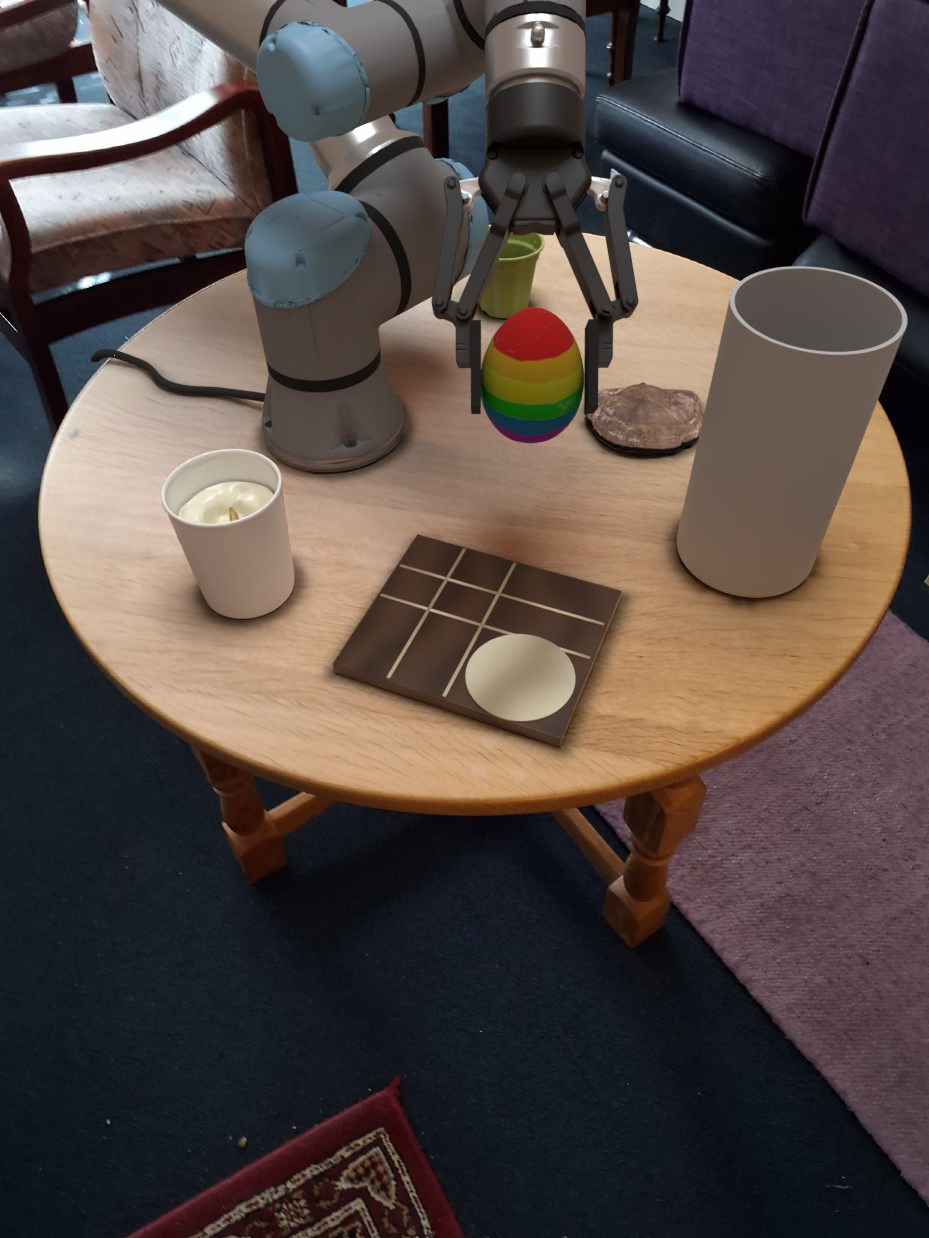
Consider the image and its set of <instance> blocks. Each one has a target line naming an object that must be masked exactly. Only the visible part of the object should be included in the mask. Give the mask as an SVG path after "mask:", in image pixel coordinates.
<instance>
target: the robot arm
mask: <svg viewBox="0 0 929 1238" xmlns="http://www.w3.org/2000/svg"><path fill="white" fill-rule="evenodd" d="M153 2H155V3H156V4H158V5H159V6H160V7H162V8H163V9H164V10H166V11H167V12H169V13H170V14H171V15H173V16H174V17H176V19H178V20H180V21H181V22H182V23H184V24H185V25H187V26H188V27H190V28H192V29H193V30H194V31H195V32H197V33H198V34H199V35H201V36H202V37H203V38H205V39H206V40H208V41H209V42H210V43H211V44H214V45H215V46H216V47H217V48H219V49H220V50H222V51H223V52H224V53H226V54H228V55H229V56H230V57H232V58H233V59H234V60H235V61H237V62H238V63H240V64H241V65H243V66H244V67H246V68H247V69H248V70H250V71H251V72H252V73H253V74H255V75H256V79H257V85H258V89H259V93H260V96H261V99H262V101H263V104H264V106H265V108H266V110H267V112H268V113H269V114H270V115H273V116H274V117H275V120H276V125H277V126H278V128H279V129H280V130H281V131H282V133H284V134H285V135H286V136H288V137H290V138H291V139H293V140H295V141H298V142H303V143H304V145H305V147H306V148H307V150H308V151H309V153H310V155H311V156H312V157H313V159H314V160H315V162H316V164H317V165H318V167H319V169H320V170H321V171H322V173H323V175H324V176H325V178H326V180H327V181H328V186H327V189H322V190H321V189H319V190H312V191H311V192H310V193H308V194H304V193H303V192H298V193H295V194H292V195H289V196H286V197H284V198H281V199H279V200H278V201H275V202H274V203H271V205H269V206H267V207H265V209H263V210H262V211H260V213H258V215H257V216H256V217H255V218H254V219H253V220H252V222H251V223H250V225H249V227H248V229H247V232H246V234H245V240H244V246H243V247H244V257H245V264H246V265H245V266H246V282H247V286H248V289H249V292H250V293H251V296H252V301H253V306H254V310H255V315H256V320H257V325H258V330H259V335H260V339H261V343H262V348H263V353H264V357H265V363H266V367H267V372H268V374H267V375H268V376H267V382H266V388H265V392H259V391H253V390H245V389H237V388H229V387H222V386H221V387H219V386H206V385H190V384H182V383H178V382H174V381H171V380H169V379H168V378H165V377H164V376H163V375H162V374H161V373H159V371H158V370H157V369H156V368H155V367H154V366H153V365H152V364H151V363H150V362H148V361H147V360H144V359H142V358H139V357H137V356H134V355H132V354H130V353H127V352H123V351H121V350H116V349H112V348H111V349H110V348H104V349H103V348H102V349H99V350H96V351H95V352H94V353H93V355H92V356H91V358H90V362H91V363H98V362H101V360H103V359H107V358H109V359H114V360H115V359H116V360H119V361H122V362H125V363H127V364H130V365H133V366H134V367H137V368H139V369H142V370H144V371H145V372H146V373H147V374H148V375H149V376H150V377H151V379H152V380H153V381H155V383H157V384H158V385H159V386H160V387H162V388H164V389H166V390H169V391H172V392H176V393H180V394H186V395H197V396H199V395H201V396H215V397H224V398H233V399H240V400H249V401H256V402H262V403H263V406H262V407H263V408H262V414H261V429H262V433H263V439H264V442H265V445H266V447H267V449H268V450H269V452H270V453H271V454H272V455H273V456H274V457H275V458H276V459H277V460H279V461H280V462H282V463H283V464H286V465H287V466H290V467H293V468H294V469H299V470H302V471H307V472H314V473H338V472H339V473H340V472H344V471H346V472H347V471H351V470H355V469H359V468H362V467H365V466H368V465H370V464H372V463H375V462H377V461H378V460H380V459H381V458H383V457H386V455H387V454H389V453H390V452H391V451H392V450H393V449H395V447H396V446H397V445H398V444H399V443H400V441H401V440H402V437H403V435H404V432H405V431H404V430H405V417H404V416H405V415H404V409H403V405H402V402H401V399H400V397H399V395H398V393H397V392H396V390H395V388H394V385H393V383H392V381H391V378H390V376H389V374H388V371H387V369H386V368H385V366H384V365H385V364H384V363H383V360H382V351H381V342H380V331H379V329H380V328H381V325H383V324H385V323H387V322H389V321H390V320H392V319H394V318H396V317H398V316H399V315H402V314H404V313H405V312H407V311H409V310H411V309H412V308H414V307H416V306H418V305H420V304H421V303H423V302H425V301H427V300H429V299H430V298H431V308H432V314H433V316H434V317H435V319H438V320H445V321H447V322H449V323H452V325H453V326H454V327H455V362H456V365H457V367H458V369H470V414H471V415H482V399H481V367H482V320H481V319H475V315H476V313H477V311H478V309H479V306H480V302H481V300H482V297H483V295H484V293H485V290H486V288H487V286H488V284H489V281H490V279H491V277H492V274H493V272H494V270H495V267H496V265H497V263H498V260H499V258H500V256H501V254H502V251H503V249H504V248H505V246H506V244H507V242H508V239H509V237H510V235H511V233H513V235H526V234H530V233H537V234H541V235H542V236H556V239H557V241H558V243H559V245H560V248H562V249H563V251H564V254H565V257H566V258H567V261H568V263H569V265H570V268H571V270H572V273H573V275H574V277H575V280H576V281H577V284H578V286H579V289H580V291H581V294H582V296H583V299H584V301H585V303H586V305H587V308H588V310H589V312H590V315H591V318H588V320H587V322H586V325H585V327H584V360H583V361H584V362H583V368H584V389H583V415H586V414H594V413H595V411H596V410H597V408H598V391H599V369H608V368H609V366H610V365H611V362H612V360H613V357H614V324H615V322H617V321H620V320H622V319H628V318H629V319H630V318H631V316H633V314H634V312H635V311H636V309H637V307H638V305H639V296H638V295H639V294H638V289H637V282H636V277H635V271H634V265H633V258H632V251H631V247H630V246H631V245H630V239H629V233H628V228H627V227H628V226H627V221H626V216H625V215H626V214H625V210H624V204H625V200H626V199H625V198H626V194H627V188H628V178H627V177H626V176H625V175H624V174H622V173H619V174H618V173H617V174H615V175H613V177H612V178H605V177H599V176H593V175H592V173H591V170H590V169H589V167H588V164H587V161H586V103H585V101H584V99H585V96H586V40H587V38H586V37H587V36H586V35H587V34H586V33H587V32H586V31H587V30H586V24H587V23H586V22H587V21H586V20H587V19H586V18H587V17H586V16H587V0H370V1H367V2H363V3H360V4H356V5H354V6H350V7H349V6H342V5H340V4H338V2H335V1H334V0H153ZM483 75H484V100H485V102H486V105H485V108H484V163H483V166H482V168H481V170H480V171H479V173H478V176H477V177H475V176H474V175H473V173H472V172H471V171H470V170H469V169H468V168H467V166H465V165H464V164H462V163H461V162H458V161H457V162H455V160H453V159H452V158H445V157H441V158H434V157H433V154H431V152H430V150H429V148H428V147H427V146H426V144H425V142H424V141H423V139H422V137H421V136H420V134H418V133H416V132H412V131H408V130H403V129H399V128H397V127H396V125H395V123H394V122H393V120H392V118H391V117H390V116H389V115H391V114H394V113H396V112H398V111H400V110H403V109H406V108H411V107H412V106H415V105H418V104H420V103H423V104H428V105H437V104H440V103H442V102H445V101H446V100H448V99H450V98H452V97H453V96H455V95H457V94H462V93H463V92H465V91H466V90H467V89H469V87H471V84H472V83H474V82H475V81H476V80H478V79H479V78H480V77H482V76H483ZM587 195H589V196H591V197H592V198H593V199H594V204H595V208H596V209H597V210H598V211H599V212H602V213H603V217H602V218H603V219H602V223H603V225H602V226H603V231H604V238H605V243H606V250H607V256H608V261H609V267H610V274H611V280H612V285H613V287H612V288H613V291H614V296H615V299H614V300H611V298H610V295H609V292H608V291H607V288H606V286H605V284H604V281H603V279H602V277H601V274H600V272H599V270H598V267H597V265H596V262H595V260H594V257H593V255H592V253H591V250H590V249H589V248H590V247H589V246H588V244H587V241H586V239H585V236H584V234H583V232H582V230H581V224H580V221H579V218H578V216H577V213H576V211H577V210H578V209H579V207H580V206H581V204H582V203H583V201H584V200H585V199H586V197H587ZM488 208H489V209H490V211H491V212H492V214H493V216H494V217H493V219H492V221H491V224H490V220H489V212H488ZM489 226H491V227H490V230H489V233H488V234H487V230H488V228H489ZM468 276H469V277H468ZM466 277H468V279H467V281H466V283H465V285H464V288H463V291H462V292H461V296H460V298H459V300H458V301H456V300H452V296H453V290H454V287H455V286H456V285H457V284H458V283H459V282H460V281H462V280H464V279H465V278H466ZM114 355H115V356H114Z"/></svg>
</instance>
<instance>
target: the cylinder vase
mask: <svg viewBox="0 0 929 1238" xmlns="http://www.w3.org/2000/svg"><path fill="white" fill-rule="evenodd" d="M907 326H908V315H907V312H906V310H905V307H904V306H903V304H902V303H901V302H900V301H899V300H898V299H897V298H896V296H895V295H893V294H892V293H890V291H888V290H887V289H885V288H883V287H882V286H880V285H878V284H876V283H874V282H873V281H870V280H869V279H866V278H865V277H864V278H863V277H860V276H858V275H855V274H852V273H848V272H845V271H841V270H836V269H832V268H831V269H830V268H825V267H818V266H806V265H805V266H804V265H803V266H802V265H796V266H794V265H792V266H780V267H773V268H767V269H764V270H759V271H758V272H755V273H752V274H750V275H748V276H746V277H744V278H743V279H742V280H740V281H739V282H738V283H736V284H735V286H734V287H733V288H732V290H731V293H730V294H729V300H728V305H727V309H726V313H725V317H724V323H723V326H722V330H721V335H720V340H719V344H718V350H717V354H716V358H715V363H714V368H713V372H712V377H711V381H710V385H709V390H708V394H707V398H706V403H705V408H704V412H703V415H702V416H703V421H702V425H701V430H700V434H699V436H698V438H697V444H696V448H695V453H694V457H693V462H692V466H691V470H690V476H689V479H688V484H687V489H686V492H685V498H684V502H683V507H682V511H681V516H680V520H679V525H678V528H677V534H676V548H677V552H678V555H679V557H680V559H681V562H682V563H683V564H684V565H685V567H686V568H687V570H689V572H690V573H691V574H692V575H693V576H694V577H696V578H697V579H698V580H699V581H701V583H704V584H705V585H707V586H708V587H711V588H713V589H715V590H717V591H720V592H723V593H725V594H729V595H733V596H736V597H742V598H754V599H755V598H756V599H757V598H759V599H760V598H770V597H775V596H779V595H782V594H786V593H788V592H790V591H792V590H793V589H795V588H796V587H798V586H800V585H801V584H802V583H803V582H804V581H805V580H806V579H807V578H808V576H809V575H810V573H811V572H812V569H813V567H814V565H815V562H816V559H817V557H818V554H819V551H820V549H821V546H822V545H823V541H824V539H825V537H826V534H827V531H828V529H829V526H830V523H831V521H832V519H833V515H834V513H835V511H836V509H837V506H838V503H839V501H840V498H841V495H842V493H843V490H844V488H845V485H846V483H847V480H848V478H849V475H850V472H851V469H852V468H853V465H854V462H855V460H856V457H857V454H858V452H859V450H860V447H861V445H862V441H863V439H864V437H865V434H866V431H867V429H868V426H869V425H870V422H871V419H872V417H873V413H874V411H875V409H876V405H877V403H878V401H879V398H880V396H881V393H882V391H883V388H884V385H885V383H886V381H887V377H888V376H889V373H890V370H891V368H892V365H893V363H894V360H895V358H896V355H897V352H898V350H899V347H900V346H901V345H900V344H901V342H902V340H903V337H904V334H905V332H906V329H907Z"/></svg>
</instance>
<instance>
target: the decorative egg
mask: <svg viewBox="0 0 929 1238" xmlns="http://www.w3.org/2000/svg"><path fill="white" fill-rule="evenodd" d="M583 361H584V360H583V358H582V354H581V350H580V347H579V344H578V343H577V340H576V338H575V336H574V335H573V333H572V331H571V330H570V328H569V327H568V326H567V325H566V323H565V322H564V321H563V319H561V318H560V317H558V315H557V314H555V313H554V312H552V311H550V310H548V309H545V308H542V307H538V306H537V307H536V306H535V307H533V306H531V307H528V308H526V309H523V310H520V311H518V312H517V313H515V314H513V315H512V316H511V317H509V318H506V320H505V321H504V322H503V323H502V324H501V325H500V326H499V327H498V329H497V330H496V332H495V333H494V334H493V336H492V337H491V339H490V342H489V343H488V345H487V348H486V350H485V352H484V355H483V359H482V361H481V404H482V408H483V410H484V412H485V414H486V416H487V418H488V420H489V422H490V423H491V425H492V426H493V427H494V428H495V429H496V430H497V431H498V432H499V433H500V434H501V435H502V436H503V437H505V438H507V439H509V440H511V441H514V442H517V443H521V444H540V443H545V442H548V441H551V440H552V439H555V438H556V437H558V436H559V435H560V434H561V433H562V432H564V431H565V430H566V429H567V428H568V427H569V425H570V424H571V423H572V422H573V420H574V418H575V417H576V415H577V413H578V410H579V409H580V406H581V402H582V400H583V396H584V362H583Z"/></svg>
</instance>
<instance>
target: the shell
mask: <svg viewBox="0 0 929 1238" xmlns="http://www.w3.org/2000/svg"><path fill="white" fill-rule="evenodd" d="M703 416H704V415H703V413H702V412H701V398H700V397H699V394H698V393H697V392H696V391H693V390H690V389H689V390H688V389H677V388H671V389H670V388H669V389H667V388H661V387H659V386H656V385H653V384H647V383H646V382H640V383H637V384H632V385H628V386H623V387H616V388H606V389H602V390H598V408H597V410H596V411H595V413H594V414H585V419H586V422H587V425H588V427H589V428H590V429H591V430H592V431H593V433H594V435H595V436H596V438H597V439H598V440H600V441H601V442H602V443H604V444H606V445H607V446H609V447H610V448H612V449H615V450H617V451H619V452H621V453H636V454H640V455H649V454H660V455H667V454H675V453H678V452H680V451H682V450H684V449H685V448H686V447H688V446H689V447H691V446H692V445H694V443H695V442H696V440H698V439H699V434H700V430H701V425H702V421H703Z"/></svg>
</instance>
